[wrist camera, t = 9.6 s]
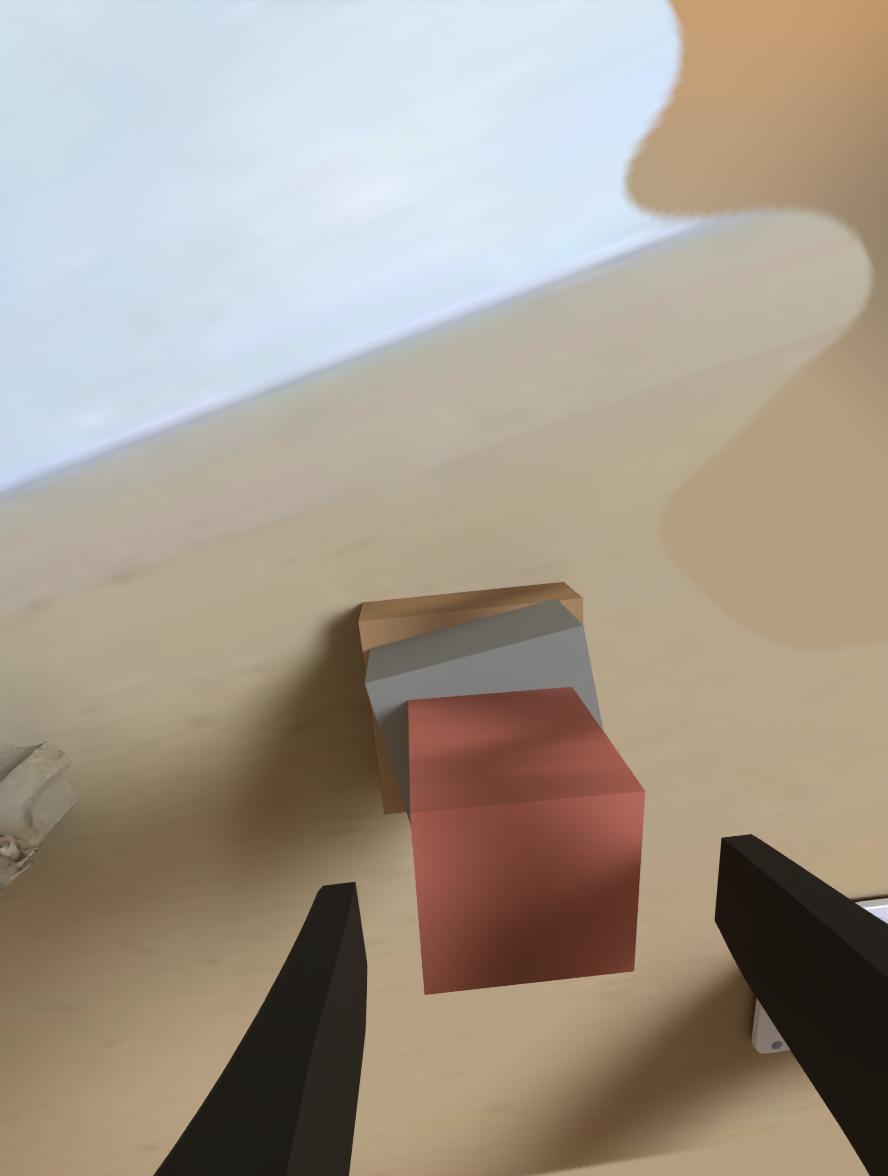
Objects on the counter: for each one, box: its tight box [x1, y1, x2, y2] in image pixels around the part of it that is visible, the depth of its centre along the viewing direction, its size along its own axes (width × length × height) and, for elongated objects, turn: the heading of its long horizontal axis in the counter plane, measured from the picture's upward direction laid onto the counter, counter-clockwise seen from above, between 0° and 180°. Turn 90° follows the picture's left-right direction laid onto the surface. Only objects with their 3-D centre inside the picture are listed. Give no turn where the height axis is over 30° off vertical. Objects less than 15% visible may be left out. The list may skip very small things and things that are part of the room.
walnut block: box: [358, 582, 583, 814], centre depth 18 cm, size 7×7×2 cm
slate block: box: [365, 599, 603, 824], centre depth 16 cm, size 6×6×2 cm
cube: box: [408, 687, 645, 995], centre depth 13 cm, size 4×4×4 cm
